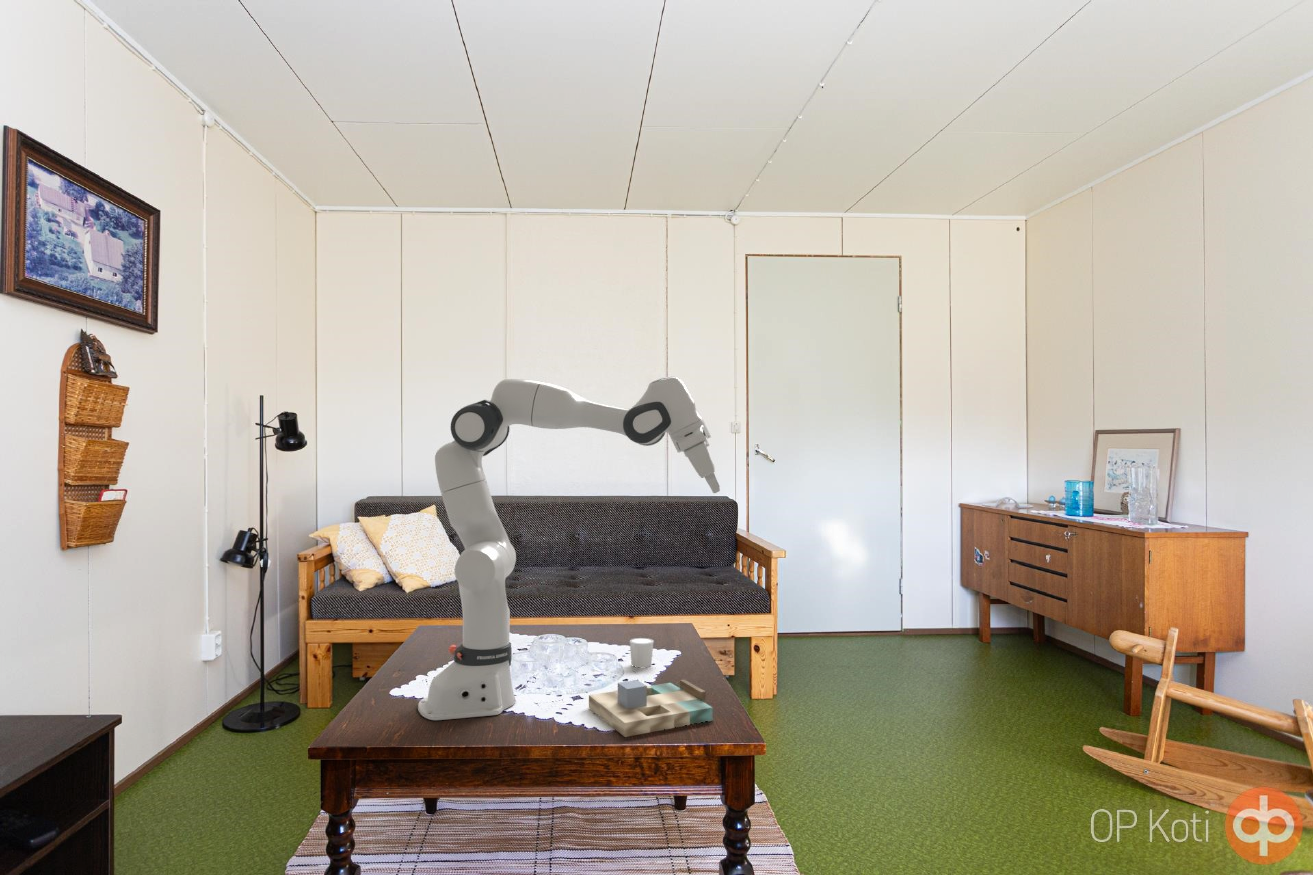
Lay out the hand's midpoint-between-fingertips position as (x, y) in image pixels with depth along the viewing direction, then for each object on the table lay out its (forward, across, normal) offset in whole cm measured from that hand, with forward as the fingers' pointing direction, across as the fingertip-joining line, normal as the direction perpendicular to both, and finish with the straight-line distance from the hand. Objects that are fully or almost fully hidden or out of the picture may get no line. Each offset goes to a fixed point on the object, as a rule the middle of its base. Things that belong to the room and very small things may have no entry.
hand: (717, 490), depth 180 cm
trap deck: (+39, +7, -37) cm, 54 cm away
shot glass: (+38, -32, -42) cm, 65 cm away
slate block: (+35, +9, -39) cm, 53 cm away
